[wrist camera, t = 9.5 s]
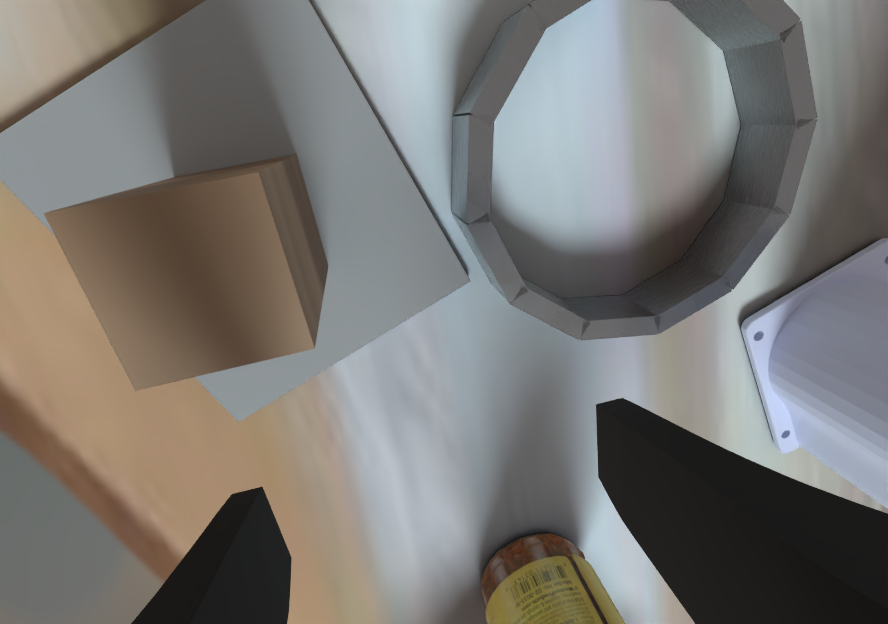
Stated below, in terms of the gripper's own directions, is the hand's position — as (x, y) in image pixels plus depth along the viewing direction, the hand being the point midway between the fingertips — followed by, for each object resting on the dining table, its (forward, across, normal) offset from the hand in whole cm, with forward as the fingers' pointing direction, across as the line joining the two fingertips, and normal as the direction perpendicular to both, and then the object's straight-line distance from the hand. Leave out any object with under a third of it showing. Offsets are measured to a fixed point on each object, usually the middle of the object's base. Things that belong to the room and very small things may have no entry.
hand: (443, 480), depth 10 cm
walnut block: (+9, +4, -5) cm, 11 cm away
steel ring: (+10, -9, -4) cm, 14 cm away
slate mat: (+10, +4, -5) cm, 12 cm away
